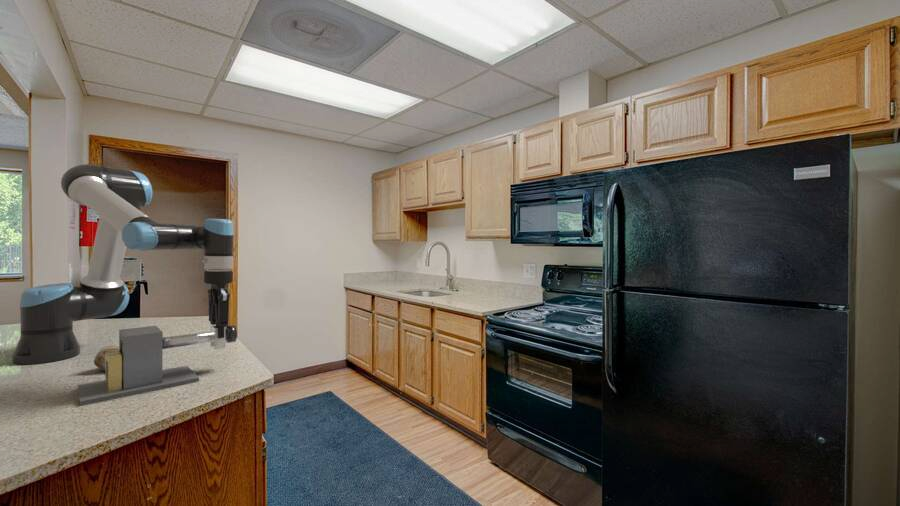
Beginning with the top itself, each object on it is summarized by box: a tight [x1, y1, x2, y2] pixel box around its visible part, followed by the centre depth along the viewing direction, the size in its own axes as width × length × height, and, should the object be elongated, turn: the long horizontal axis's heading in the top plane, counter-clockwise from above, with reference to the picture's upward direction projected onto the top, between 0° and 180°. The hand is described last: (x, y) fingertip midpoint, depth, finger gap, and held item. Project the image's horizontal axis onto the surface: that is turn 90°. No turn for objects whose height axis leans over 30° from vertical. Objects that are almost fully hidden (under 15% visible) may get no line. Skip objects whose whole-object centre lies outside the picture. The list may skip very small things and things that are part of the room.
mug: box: [93, 345, 119, 371], centre depth 115 cm, size 8×10×10 cm
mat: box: [77, 365, 200, 406], centre depth 104 cm, size 14×24×1 cm, turn 136°
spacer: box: [104, 348, 122, 393], centre depth 100 cm, size 9×2×9 cm, turn 45°
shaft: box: [163, 324, 238, 350], centre depth 111 cm, size 5×24×5 cm, turn 135°
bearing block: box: [118, 325, 164, 390], centre depth 104 cm, size 10×8×15 cm
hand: (218, 346), depth 117 cm, fingers closed on shaft, 3 cm apart
